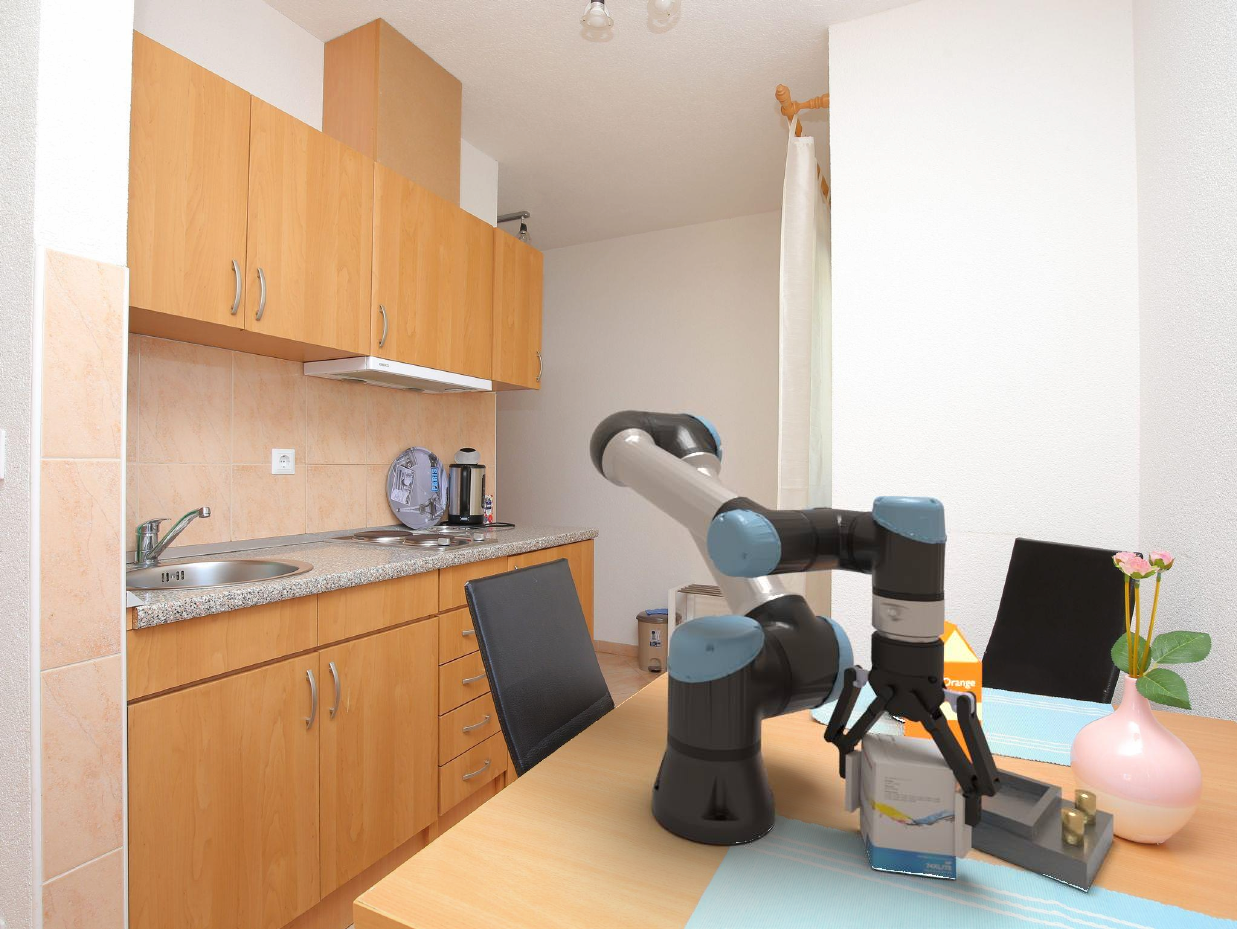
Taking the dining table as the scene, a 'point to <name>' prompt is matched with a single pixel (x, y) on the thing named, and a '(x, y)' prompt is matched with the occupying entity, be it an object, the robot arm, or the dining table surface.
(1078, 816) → the grey tray with knobs
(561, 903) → the dining table surface
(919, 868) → the ink box
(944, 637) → the orange juice
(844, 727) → the robot arm
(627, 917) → the dining table surface
